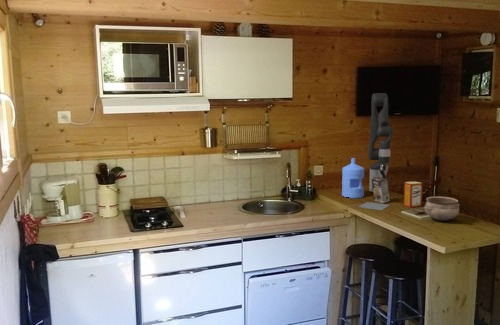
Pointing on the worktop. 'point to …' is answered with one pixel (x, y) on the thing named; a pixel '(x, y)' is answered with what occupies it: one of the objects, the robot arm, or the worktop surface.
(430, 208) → the cooking pot
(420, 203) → the baking soda box
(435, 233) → the worktop surface
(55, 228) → the worktop surface
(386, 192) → the coffee box
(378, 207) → the mat
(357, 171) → the water jug
